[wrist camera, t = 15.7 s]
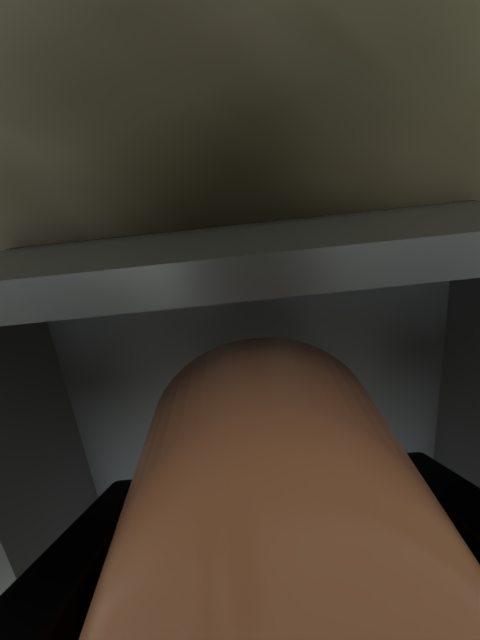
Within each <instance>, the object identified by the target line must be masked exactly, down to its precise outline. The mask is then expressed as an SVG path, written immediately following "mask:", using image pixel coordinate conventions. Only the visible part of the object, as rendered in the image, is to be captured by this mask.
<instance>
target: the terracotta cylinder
mask: <svg viewBox="0 0 480 640" xmlns="http://www.w3.org/2000/svg"><path fill="white" fill-rule="evenodd" d="M79 640H480V564H479V563H478V561H477V560H476V558H475V556H474V555H473V553H472V552H471V550H470V549H469V547H468V546H467V544H466V543H465V541H464V540H463V538H462V537H461V535H460V534H459V532H458V530H457V529H456V527H455V526H454V524H453V523H452V521H451V520H450V518H449V517H448V515H447V514H446V512H445V511H444V509H443V508H442V506H441V504H440V503H439V501H438V500H437V498H436V497H435V495H434V494H433V492H432V491H431V489H430V488H429V486H428V485H427V483H426V482H425V480H424V478H423V477H422V475H421V474H420V472H419V471H418V469H417V468H416V466H415V465H414V463H413V462H412V460H411V459H410V457H409V456H408V454H407V453H406V451H405V449H404V448H403V446H402V445H401V443H400V442H399V440H398V439H397V437H396V436H395V434H394V433H393V431H392V430H391V428H390V427H389V425H388V423H387V422H386V420H385V419H384V417H383V416H382V414H381V413H380V411H379V410H378V408H377V407H376V405H375V404H374V402H373V401H372V399H371V397H370V396H369V394H368V393H367V391H366V390H365V388H364V387H363V385H362V384H361V382H360V381H359V380H358V378H357V377H356V376H355V375H354V373H353V372H352V371H351V370H350V369H349V368H348V367H347V366H345V365H344V364H343V363H342V362H341V361H340V360H338V359H337V358H335V357H334V356H332V355H331V354H329V353H327V352H325V351H323V350H321V349H319V348H317V347H315V346H312V345H309V344H306V343H304V342H300V341H295V340H291V339H286V338H273V337H263V338H250V339H244V340H238V341H234V342H231V343H227V344H224V345H221V346H219V347H216V348H214V349H212V350H209V351H207V352H206V353H204V354H202V355H201V356H199V357H197V358H195V359H194V360H193V361H191V362H190V363H189V364H188V365H186V366H185V367H184V368H183V369H182V370H181V371H180V372H179V373H178V374H177V375H176V376H175V377H174V378H173V379H172V380H171V382H170V383H169V384H168V386H167V387H166V388H165V390H164V392H163V393H162V395H161V397H160V399H159V401H158V404H157V406H156V409H155V412H154V415H153V418H152V421H151V424H150V427H149V430H148V433H147V436H146V439H145V442H144V445H143V448H142V451H141V454H140V457H139V460H138V463H137V466H136V469H135V472H134V475H133V478H132V481H131V484H130V487H129V490H128V493H127V496H126V499H125V502H124V505H123V508H122V511H121V514H120V517H119V520H118V523H117V526H116V529H115V532H114V535H113V538H112V541H111V544H110V547H109V550H108V553H107V556H106V559H105V562H104V565H103V568H102V571H101V574H100V577H99V580H98V583H97V586H96V589H95V592H94V595H93V598H92V601H91V604H90V607H89V610H88V613H87V616H86V619H85V622H84V625H83V628H82V631H81V634H80V637H79Z"/></svg>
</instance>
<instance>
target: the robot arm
mask: <svg viewBox="0 0 480 640" xmlns="http://www.w3.org/2000/svg"><path fill="white" fill-rule="evenodd" d="M407 454H408V456H409V457H410V459H411V460H412V462H413V463H414V465H415V466H416V468H417V469H418V471H419V472H420V474H421V475H422V477H423V478H424V480H425V482H426V483H427V485H428V486H429V488H430V489H431V491H432V492H433V494H434V495H435V497H436V498H437V500H438V501H439V503H440V504H441V506H442V508H443V509H444V511H445V512H446V514H447V515H448V517H449V518H450V520H451V521H452V523H453V524H454V526H455V527H456V529H457V530H458V532H459V534H460V535H461V537H462V538H463V540H464V541H465V543H466V544H467V546H468V547H469V549H470V550H471V552H472V553H473V555H474V556H475V558H476V560H477V561H478V563H479V564H480V488H479V487H478V486H476V485H474V484H473V483H471V482H470V481H468V480H466V479H465V478H463V477H462V476H460V475H458V474H457V473H455V472H454V471H452V470H450V469H449V468H447V467H445V466H444V465H442V464H441V463H439V462H437V461H436V460H434V459H433V458H431V457H429V456H428V455H426V454H424V453H422V452H410V453H407ZM131 481H132V479H127V480H118V481H115V482H114V483H112V484H111V485H110V486H109V487H108V488H107V489H106V490H105V491H104V492H103V493H102V494H101V495H100V496H99V497H98V498H97V499H96V500H95V501H94V502H93V503H92V504H91V505H90V506H89V507H88V508H87V509H86V510H85V511H84V512H83V513H82V514H81V515H80V516H79V517H78V518H77V519H76V520H75V521H74V522H73V523H72V524H71V525H70V526H69V527H68V528H67V529H66V530H65V531H64V532H63V533H62V534H61V535H60V536H59V537H58V538H57V539H56V540H55V541H54V542H53V543H52V544H51V545H50V546H49V547H48V548H47V549H46V550H45V551H44V552H43V553H42V554H41V555H40V556H39V557H38V558H37V559H36V560H35V561H34V562H33V563H32V564H31V565H30V566H29V567H28V568H27V569H26V570H25V571H24V572H23V573H22V574H21V575H20V576H19V577H18V578H17V579H16V580H15V581H14V582H13V583H12V584H11V585H10V586H9V587H8V588H7V589H6V590H5V591H4V592H3V593H2V594H1V595H0V640H79V637H80V634H81V631H82V628H83V625H84V622H85V619H86V616H87V613H88V610H89V607H90V604H91V601H92V598H93V595H94V592H95V589H96V586H97V583H98V580H99V577H100V574H101V571H102V568H103V565H104V562H105V559H106V556H107V553H108V550H109V547H110V544H111V541H112V538H113V535H114V532H115V529H116V526H117V523H118V520H119V517H120V514H121V511H122V508H123V505H124V502H125V499H126V496H127V493H128V490H129V487H130V484H131Z"/></svg>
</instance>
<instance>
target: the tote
mask: <svg viewBox="0 0 480 640" xmlns="http://www.w3.org/2000/svg"><path fill="white" fill-rule="evenodd" d="M263 337H273V338H286V339H291V340H295V341H300V342H304V343H306V344H309V345H312V346H315V347H317V348H319V349H321V350H323V351H325V352H327V353H329V354H331V355H332V356H334V357H335V358H337V359H338V360H340V361H341V362H342V363H343V364H344V365H345V366H347V367H348V368H349V369H350V370H351V371H352V372H353V373H354V375H355V376H356V377H357V378H358V380H359V381H360V382H361V384H362V385H363V387H364V388H365V390H366V391H367V393H368V394H369V396H370V397H371V399H372V401H373V402H374V404H375V405H376V407H377V408H378V410H379V411H380V413H381V414H382V416H383V417H384V419H385V420H386V422H387V423H388V425H389V427H390V428H391V430H392V431H393V433H394V434H395V436H396V437H397V439H398V440H399V442H400V443H401V445H402V446H403V448H404V449H405V451H406V453H410V452H422V453H424V454H426V455H428V456H429V457H431V458H433V459H434V460H436V461H437V462H439V463H441V464H442V465H444V466H445V467H447V468H449V469H450V470H452V471H454V472H455V473H457V474H458V475H460V476H462V477H463V478H465V479H466V480H468V481H470V482H471V483H473V484H474V485H476V486H478V487H479V488H480V201H474V200H473V201H463V202H453V203H444V204H434V205H424V206H415V207H405V208H395V209H386V210H376V211H367V212H357V213H347V214H338V215H328V216H318V217H309V218H299V219H289V220H280V221H270V222H260V223H251V224H241V225H232V226H222V227H212V228H203V229H193V230H183V231H174V232H164V233H154V234H145V235H135V236H126V237H116V238H106V239H97V240H87V241H77V242H68V243H58V244H48V245H39V246H29V247H20V248H10V249H6V250H3V251H0V595H1V594H2V593H3V592H4V591H5V590H6V589H7V588H8V587H9V586H10V585H11V584H12V583H13V582H14V581H15V580H16V579H17V578H18V577H19V576H20V575H21V574H22V573H23V572H24V571H25V570H26V569H27V568H28V567H29V566H30V565H31V564H32V563H33V562H34V561H35V560H36V559H37V558H38V557H39V556H40V555H41V554H42V553H43V552H44V551H45V550H46V549H47V548H48V547H49V546H50V545H51V544H52V543H53V542H54V541H55V540H56V539H57V538H58V537H59V536H60V535H61V534H62V533H63V532H64V531H65V530H66V529H67V528H68V527H69V526H70V525H71V524H72V523H73V522H74V521H75V520H76V519H77V518H78V517H79V516H80V515H81V514H82V513H83V512H84V511H85V510H86V509H87V508H88V507H89V506H90V505H91V504H92V503H93V502H94V501H95V500H96V499H97V498H98V497H99V496H100V495H101V494H102V493H103V492H104V491H105V490H106V489H107V488H108V487H109V486H110V485H111V484H112V483H114V482H115V481H118V480H127V479H132V478H133V475H134V472H135V469H136V466H137V463H138V460H139V457H140V454H141V451H142V448H143V445H144V442H145V439H146V436H147V433H148V430H149V427H150V424H151V421H152V418H153V415H154V412H155V409H156V406H157V404H158V401H159V399H160V397H161V395H162V393H163V392H164V390H165V388H166V387H167V386H168V384H169V383H170V382H171V380H172V379H173V378H174V377H175V376H176V375H177V374H178V373H179V372H180V371H181V370H182V369H183V368H184V367H185V366H186V365H188V364H189V363H190V362H191V361H193V360H194V359H195V358H197V357H199V356H201V355H202V354H204V353H206V352H207V351H209V350H212V349H214V348H216V347H219V346H221V345H224V344H227V343H231V342H234V341H238V340H244V339H250V338H263Z"/></svg>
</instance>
